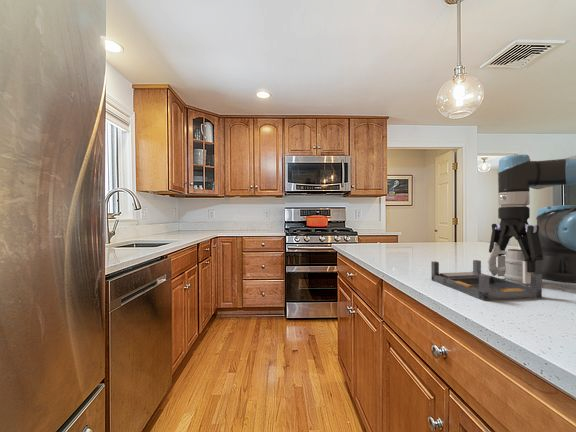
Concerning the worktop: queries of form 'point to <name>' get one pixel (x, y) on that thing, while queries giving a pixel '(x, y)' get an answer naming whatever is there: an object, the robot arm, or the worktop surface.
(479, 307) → the worktop surface
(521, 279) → the mug
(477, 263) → the tray
